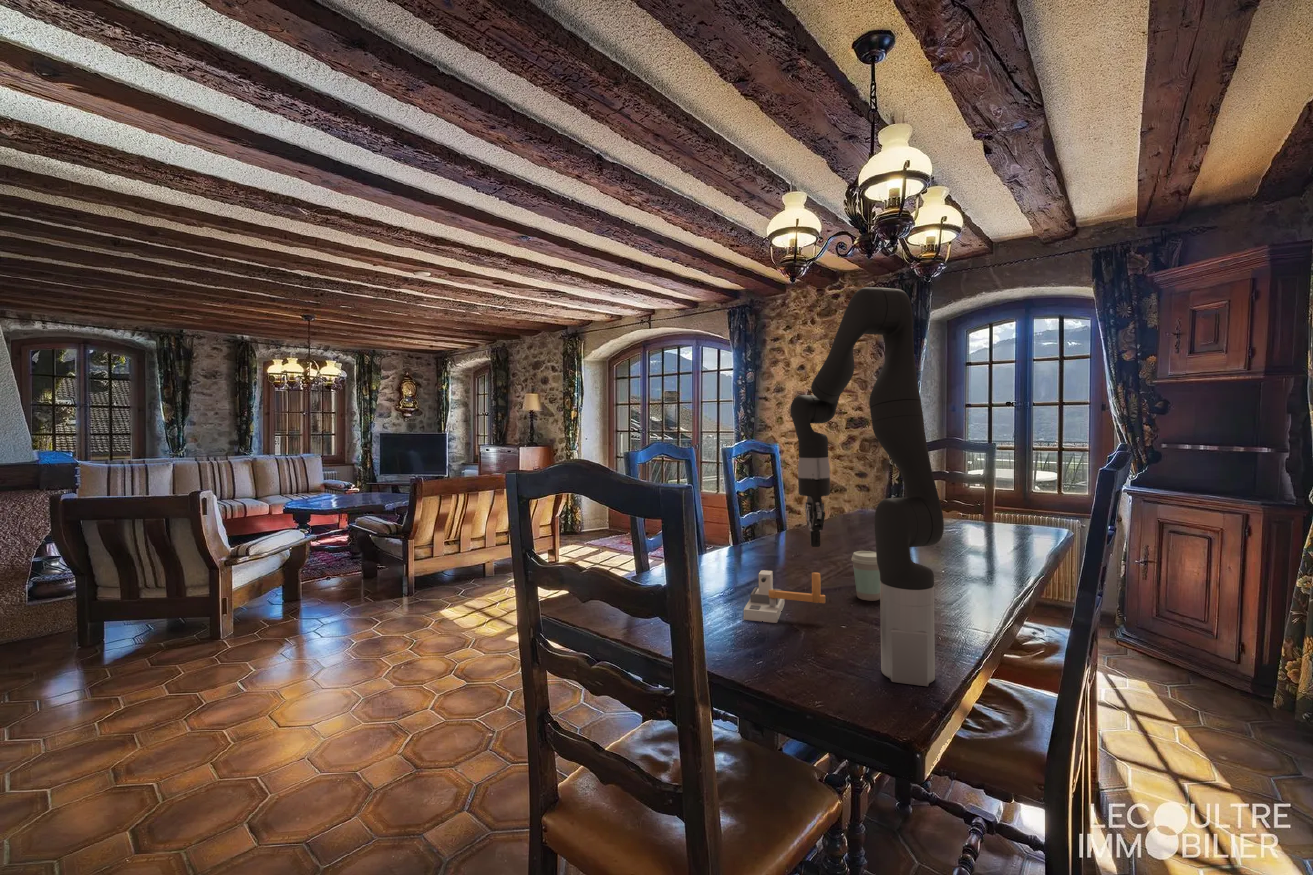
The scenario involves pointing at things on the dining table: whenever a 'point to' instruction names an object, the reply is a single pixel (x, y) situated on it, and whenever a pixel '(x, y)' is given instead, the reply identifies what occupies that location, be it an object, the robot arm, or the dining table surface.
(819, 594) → the crank handle
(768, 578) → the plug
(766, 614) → the white stepped base
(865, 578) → the coffee cup
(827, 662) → the dining table surface
